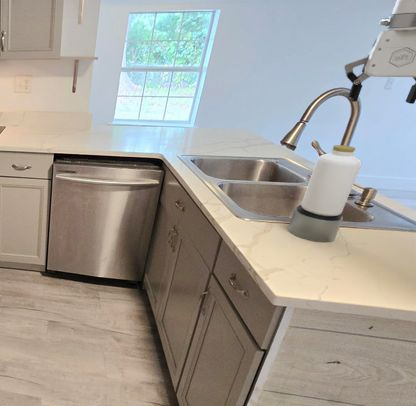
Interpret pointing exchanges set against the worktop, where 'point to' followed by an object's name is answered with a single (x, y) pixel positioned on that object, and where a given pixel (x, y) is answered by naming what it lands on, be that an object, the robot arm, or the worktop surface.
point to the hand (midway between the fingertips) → (380, 101)
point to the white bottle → (331, 181)
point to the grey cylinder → (314, 225)
